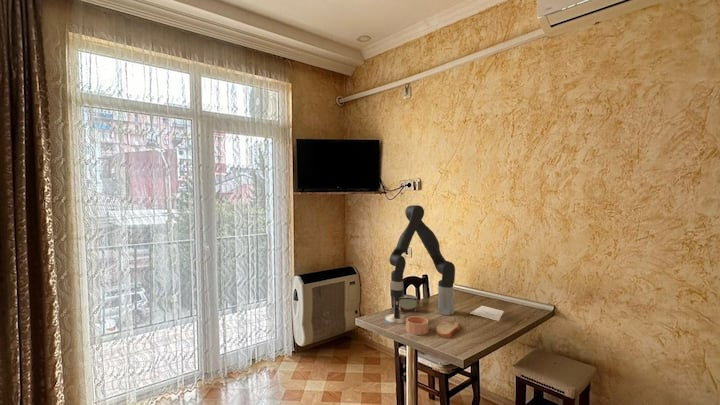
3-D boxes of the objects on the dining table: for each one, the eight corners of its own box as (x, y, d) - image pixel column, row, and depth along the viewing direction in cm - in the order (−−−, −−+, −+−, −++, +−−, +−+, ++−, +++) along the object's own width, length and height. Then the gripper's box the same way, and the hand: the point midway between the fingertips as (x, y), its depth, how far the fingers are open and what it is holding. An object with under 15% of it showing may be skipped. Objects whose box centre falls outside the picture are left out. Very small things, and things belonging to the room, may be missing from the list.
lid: (408, 315, 202) (408, 307, 202) (409, 324, 188) (409, 315, 188) (385, 314, 203) (385, 306, 203) (384, 323, 189) (384, 314, 189)
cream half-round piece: (416, 309, 214) (417, 294, 214) (417, 313, 208) (417, 297, 208) (398, 309, 215) (398, 294, 215) (398, 312, 209) (398, 296, 209)
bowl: (427, 327, 185) (427, 316, 185) (429, 336, 173) (429, 324, 173) (405, 326, 186) (405, 315, 186) (406, 334, 174) (406, 323, 174)
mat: (409, 316, 202) (409, 315, 202) (410, 325, 187) (410, 324, 187) (384, 315, 204) (384, 314, 204) (383, 324, 189) (383, 323, 189)
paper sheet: (483, 306, 224) (483, 304, 224) (528, 318, 203) (528, 316, 203) (466, 313, 208) (466, 312, 208) (513, 328, 187) (513, 326, 187)
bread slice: (442, 339, 169) (442, 332, 169) (426, 326, 187) (426, 320, 187) (472, 336, 174) (472, 329, 174) (454, 324, 191) (454, 317, 191)
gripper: (403, 291, 188) (403, 319, 188) (403, 285, 202) (402, 311, 202) (390, 291, 189) (390, 319, 189) (390, 284, 203) (390, 310, 203)
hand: (396, 315), depth 196 cm, fingers open, 8 cm apart
